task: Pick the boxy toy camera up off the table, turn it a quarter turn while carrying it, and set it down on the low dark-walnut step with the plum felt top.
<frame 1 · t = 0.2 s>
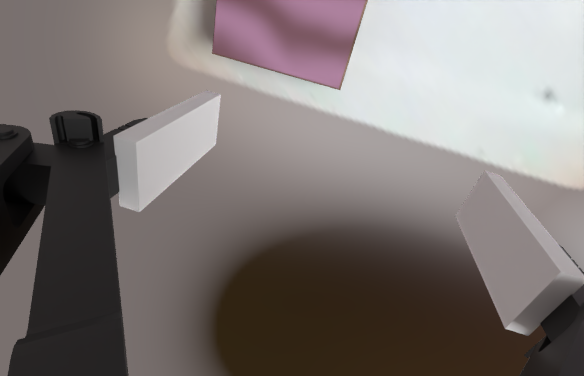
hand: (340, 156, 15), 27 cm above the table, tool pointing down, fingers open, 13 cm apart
walnut step: (292, 19, 37), on the table
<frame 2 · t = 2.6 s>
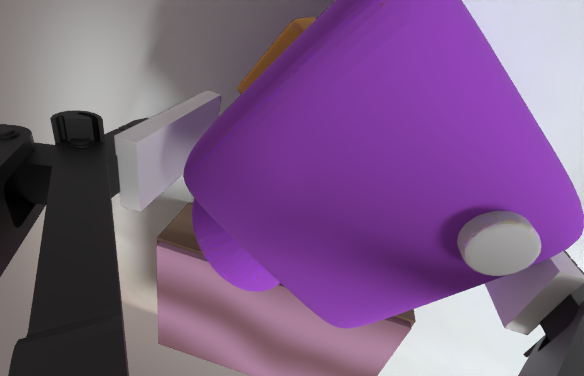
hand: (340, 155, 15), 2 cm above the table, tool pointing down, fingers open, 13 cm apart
walnut step: (280, 287, 24), on the table
toy camera: (342, 134, 18), on the table, touching gripper
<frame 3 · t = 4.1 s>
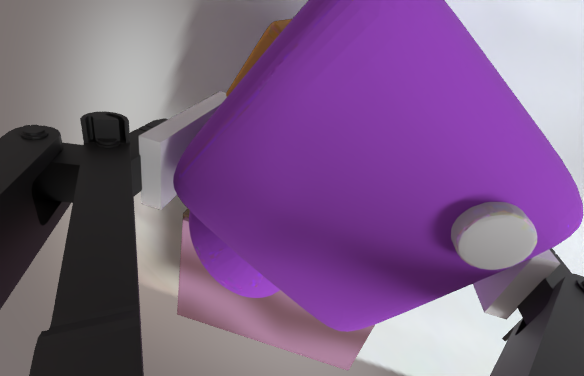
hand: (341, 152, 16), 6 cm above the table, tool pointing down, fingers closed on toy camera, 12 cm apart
walnut step: (284, 264, 28), on the table
toy camera: (338, 135, 17), point 4 cm above the table, touching gripper
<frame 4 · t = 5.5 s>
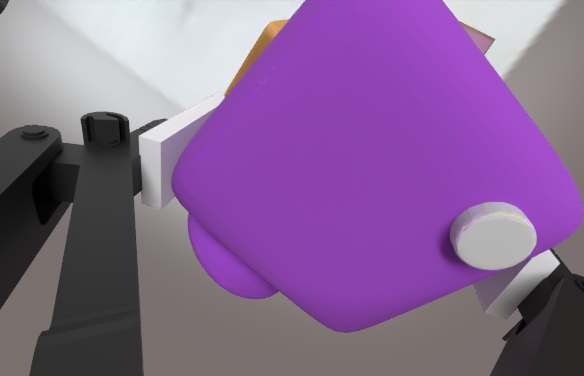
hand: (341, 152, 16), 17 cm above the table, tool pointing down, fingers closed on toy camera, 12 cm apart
walnut step: (372, 93, 30), on the table
toy camera: (337, 135, 17), point 15 cm above the table, touching gripper
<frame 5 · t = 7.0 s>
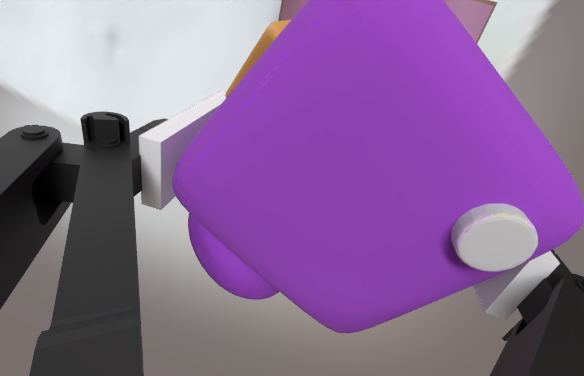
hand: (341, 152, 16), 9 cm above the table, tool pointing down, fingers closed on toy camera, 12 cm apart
walnut step: (347, 104, 24), on the table
toy camera: (337, 136, 17), point 7 cm above the table, touching gripper
when the fingers open (8 cm above the table, at t = 8.0 s): toy camera drops 1 cm, resting on walnut step.
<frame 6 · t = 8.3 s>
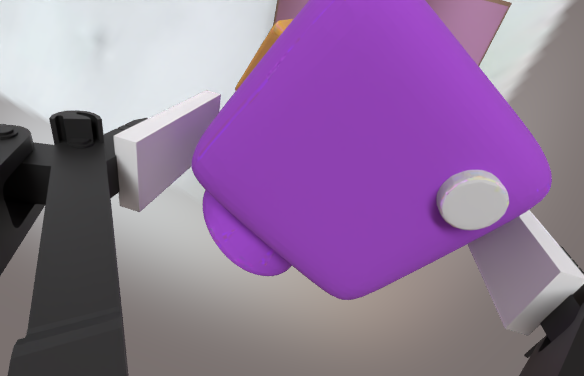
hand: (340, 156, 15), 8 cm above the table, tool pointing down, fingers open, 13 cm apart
walnut step: (348, 111, 22), on the table
toy camera: (338, 127, 19), point 4 cm above the table, touching walnut step
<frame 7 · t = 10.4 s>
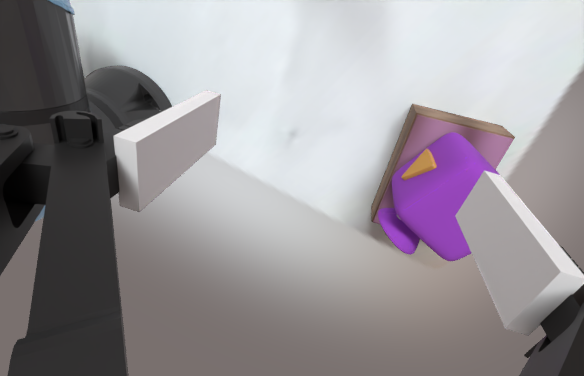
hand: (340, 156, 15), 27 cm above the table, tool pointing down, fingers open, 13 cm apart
walnut step: (429, 170, 42), on the table
toy camera: (431, 183, 39), point 4 cm above the table, touching walnut step
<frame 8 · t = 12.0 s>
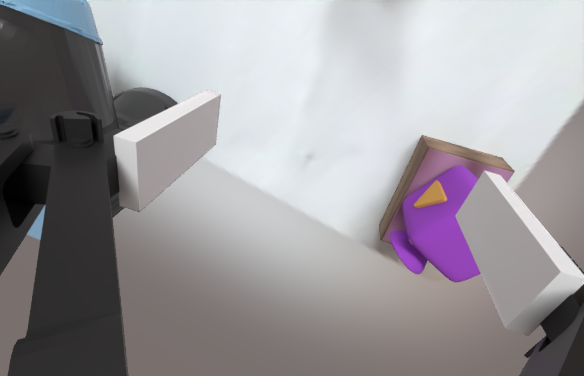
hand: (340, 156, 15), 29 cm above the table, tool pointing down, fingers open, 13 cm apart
walnut step: (434, 194, 46), on the table
toy camera: (437, 208, 42), point 4 cm above the table, touching walnut step
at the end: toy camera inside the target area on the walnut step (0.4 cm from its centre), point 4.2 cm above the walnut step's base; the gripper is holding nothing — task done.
